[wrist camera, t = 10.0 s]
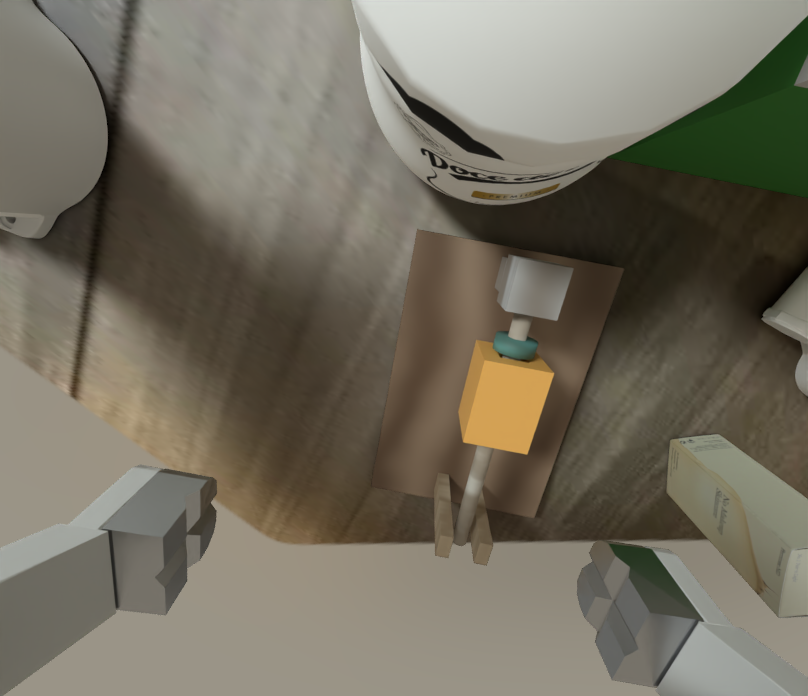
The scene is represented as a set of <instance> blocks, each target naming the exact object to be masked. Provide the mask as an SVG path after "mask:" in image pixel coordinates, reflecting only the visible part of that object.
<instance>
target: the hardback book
mask: <svg viewBox="0 0 808 696" xmlns="http://www.w3.org/2000/svg"><path fill="white" fill-rule="evenodd" d="M607 158H612V159H617V160H622V161H627V162H632V163H637V164H642V165H647V166H652V167H657V168H662V169H666V170H671V171H676V172H681V173H686V174H691V175H696V176H701V177H706V178H711V179H716V180H721V181H726V182H731V183H736V184H741V185H746V186H751V187H756V188H761V189H766V190H771V191H776V192H781V193H786V194H791V195H796V196H801V197H806V198H808V16H807V17H806V18H805V19H804V20H803V21H802V22H800V23H799V24H798V25H797V26H796V27H795V28H794V29H793V30H792V31H791V32H790V33H789V34H788V35H787V36H786V37H785V38H784V39H783V40H782V41H781V42H780V43H779V44H778V45H777V46H776V47H775V48H774V49H772V50H771V51H770V52H769V53H768V54H767V55H766V56H765V57H764V58H763V59H762V60H761V61H760V62H759V63H758V64H757V65H756V66H755V67H754V68H753V69H752V70H751V71H750V72H749V73H748V74H747V75H746V76H744V77H743V78H742V79H741V80H740V81H739V82H738V83H737V84H735V85H734V86H733V87H732V88H730V89H729V90H728V91H727V92H725V93H724V94H722V95H721V96H719V97H718V98H716V99H714V100H713V101H711V102H709V103H708V104H706V105H705V106H703V107H701V108H700V109H698V110H696V111H695V112H693V113H691V114H689V115H687V116H685V117H683V118H681V119H680V120H678V121H676V122H674V123H672V124H670V125H668V126H666V127H664V128H663V129H661V130H659V131H657V132H655V133H653V134H651V135H649V136H647V137H646V138H644V139H642V140H640V141H638V142H636V143H634V144H632V145H630V146H629V147H627V148H625V149H623V150H621V151H619V152H617V153H614V154H612V155H610V156H607Z"/></svg>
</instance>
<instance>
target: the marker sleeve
mask: <svg viewBox="0 0 808 696" xmlns="http://www.w3.org/2000/svg"><path fill="white" fill-rule="evenodd" d="M502 355H503V354H501V353H499V352H497V351H495V350H494V349H493V343H491V342H486V341H480V340H476V343H475V347H474V351H473V355H472V359H471V363H470V367H469V371H468V375H467V379H466V383H465V387H464V391H463V395H462V399H461V403H460V407H459V411H458V413H459V420H460V426H461V433H462V439H463V442H464V443H469V444H474V445H479V446H485V447H490V448H495V449H500V450H506V451H511V452H516V453H521V454H526V455H527V454H528V451H529V448H530V445H531V442H532V439H533V436H534V433H535V430H536V427H537V424H538V421H539V418H540V415H541V412H542V409H543V406H544V403H545V400H546V397H547V394H548V391H549V388H550V385H551V382H552V379H553V376H554V373H553V371H552V370H551V369H550V368H549V367H548V365H547V364H546V363H545V362H544V361H543V359H542V358H541V357H540V356H539V355H538V353H537V352H536V353H535V356H534V358H533V359H530V360H523V359H520V361H517V360H511V359H506V358H502Z"/></svg>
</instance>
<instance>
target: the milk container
mask: <svg viewBox="0 0 808 696" xmlns="http://www.w3.org/2000/svg"><path fill="white" fill-rule="evenodd" d="M352 4H353V8H354V12H355V16H356V20H357V23H358V26H359V29H360V49H361V60H362V68H363V74H364V79H365V85H366V89H367V93H368V97H369V100H370V103H371V106H372V109H373V112H374V115H375V117H376V119H377V122H378V124H379V126H380V128H381V130H382V132H383V134H384V136H385V137H386V139H387V141H388V142H389V144H390V145H391V147H392V149H393V150H394V151H395V153H396V154H397V155H398V157H399V158H400V159H401V160H402V162H403V163H404V164H405V165H406V166H407V167H408V168H409V169H410V170H411V171H412V172H413V173H414V174H415V175H417V176H418V177H419V178H420V179H422V180H423V181H424V182H425V183H427V184H428V185H430V186H432V187H433V188H435V189H436V190H438V191H440V192H442V193H444V194H446V195H449V196H451V197H454V198H456V199H459V200H463V201H466V202H471V203H476V204H484V205H507V204H516V203H521V202H526V201H531V200H534V199H538V198H541V197H544V196H546V195H549V194H552V193H554V192H556V191H558V190H560V189H562V188H564V187H566V186H568V185H569V184H571V183H573V182H575V181H576V180H578V179H579V178H581V177H582V176H584V175H585V174H587V173H588V172H590V171H591V170H592V169H593V168H595V167H596V166H597V165H598V164H600V163H601V162H602V161H603V160H604V159H605V158H606V157H607V156H610V155H612V154H614V153H617V152H619V151H621V150H623V149H625V148H627V147H629V146H630V145H632V144H634V143H636V142H638V141H640V140H642V139H644V138H646V137H647V136H649V135H651V134H653V133H655V132H657V131H659V130H661V129H663V128H664V127H666V126H668V125H670V124H672V123H674V122H676V121H678V120H680V119H681V118H683V117H685V116H687V115H689V114H691V113H693V112H695V111H696V110H698V109H700V108H701V107H703V106H705V105H706V104H708V103H709V102H711V101H713V100H714V99H716V98H718V97H719V96H721V95H722V94H724V93H725V92H727V91H728V90H729V89H730V88H732V87H733V86H734V85H735V84H737V83H738V82H739V81H740V80H741V79H742V78H743V77H744V76H746V75H747V74H748V73H749V72H750V71H751V70H752V69H753V68H754V67H755V66H756V65H757V64H758V63H759V62H760V61H761V60H762V59H763V58H764V57H765V56H766V55H767V54H768V53H769V52H770V51H771V50H772V49H774V48H775V47H776V46H777V45H778V44H779V43H780V42H781V41H782V40H783V39H784V38H785V37H786V36H787V35H788V34H789V33H790V32H791V31H792V30H793V29H794V28H795V27H796V26H797V25H798V24H799V23H800V22H802V21H803V20H804V19H805V18H806V17H807V16H808V0H352Z"/></svg>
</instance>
